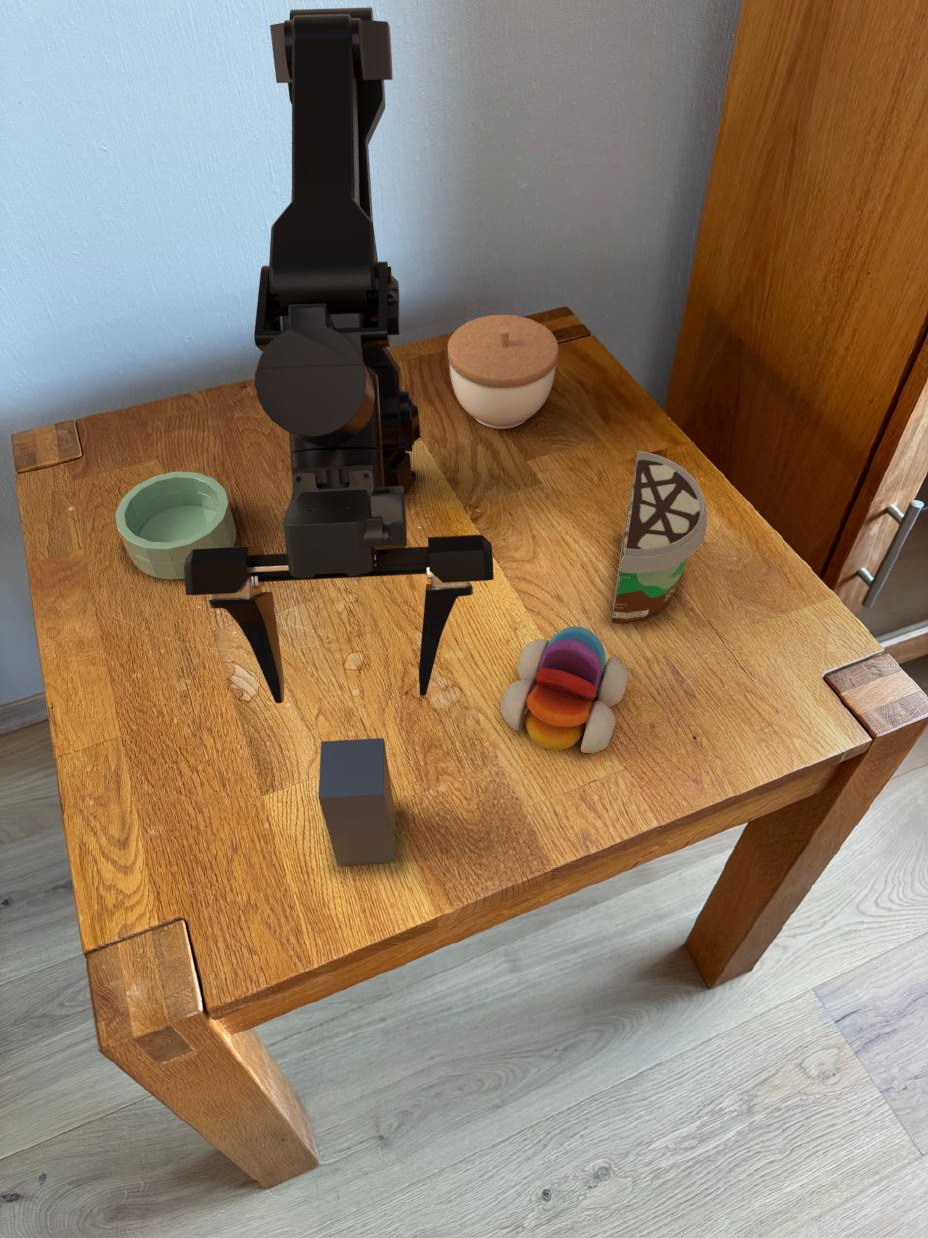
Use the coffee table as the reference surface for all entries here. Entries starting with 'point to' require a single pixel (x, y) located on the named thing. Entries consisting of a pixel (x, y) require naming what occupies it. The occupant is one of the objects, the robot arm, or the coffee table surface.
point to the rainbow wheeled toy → (566, 691)
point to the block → (357, 801)
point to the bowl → (174, 521)
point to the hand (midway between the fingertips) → (351, 698)
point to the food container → (657, 537)
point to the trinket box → (502, 368)
